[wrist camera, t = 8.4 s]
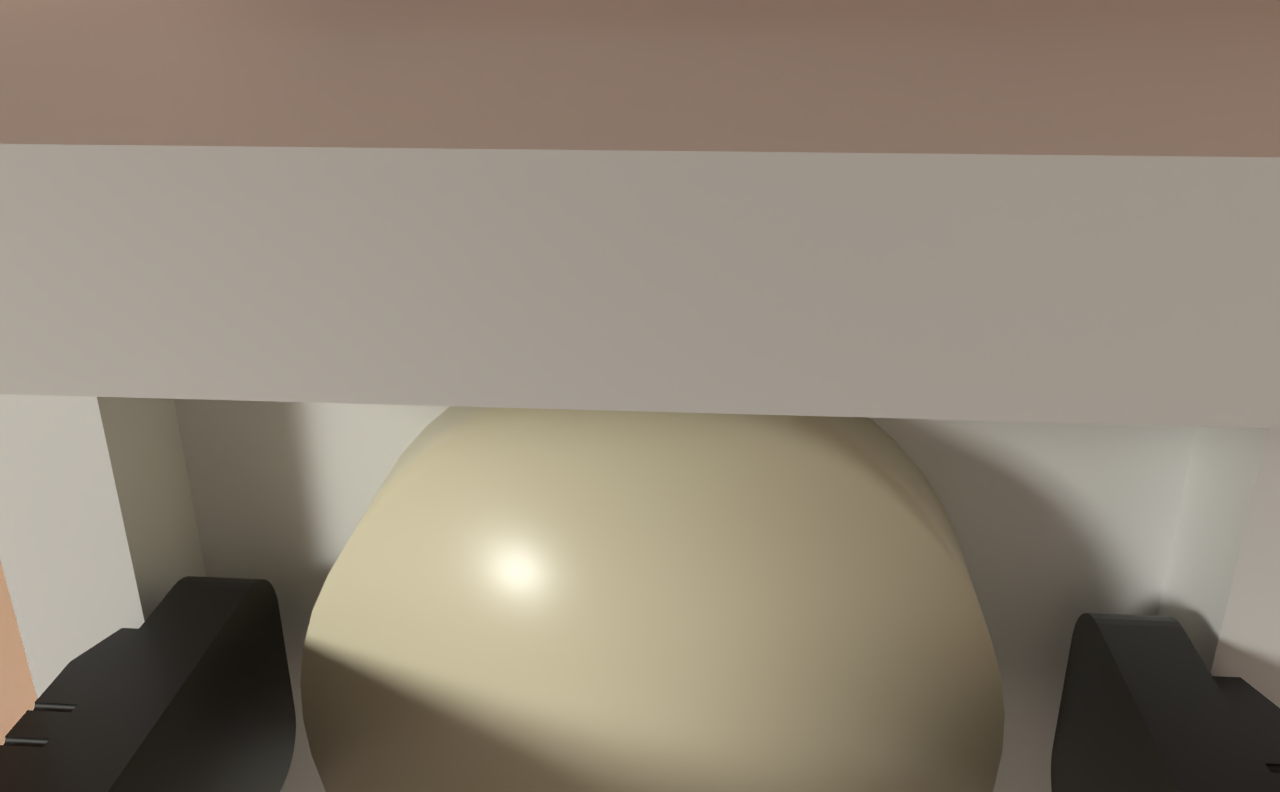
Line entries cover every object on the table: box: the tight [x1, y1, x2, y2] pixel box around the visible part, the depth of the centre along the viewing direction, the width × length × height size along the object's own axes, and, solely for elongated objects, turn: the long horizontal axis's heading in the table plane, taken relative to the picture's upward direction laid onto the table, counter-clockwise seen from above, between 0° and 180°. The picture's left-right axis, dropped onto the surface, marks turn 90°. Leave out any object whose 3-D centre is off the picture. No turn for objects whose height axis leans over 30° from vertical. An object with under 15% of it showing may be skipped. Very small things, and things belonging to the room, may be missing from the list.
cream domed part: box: [300, 406, 1005, 792], centre depth 11 cm, size 6×6×2 cm
